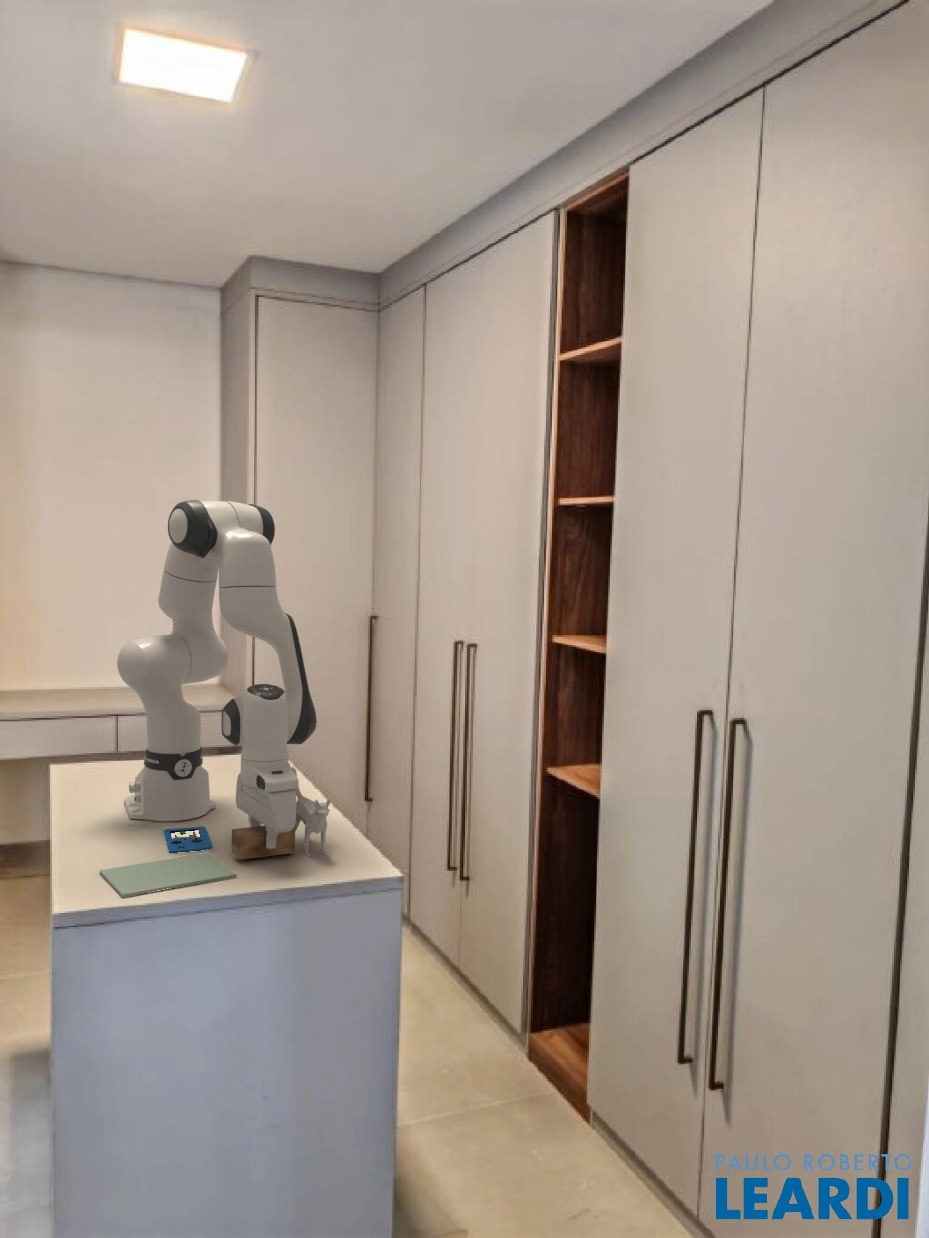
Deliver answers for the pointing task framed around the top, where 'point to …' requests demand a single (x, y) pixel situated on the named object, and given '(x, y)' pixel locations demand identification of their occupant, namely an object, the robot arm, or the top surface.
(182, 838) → the handheld gaming device
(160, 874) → the rubber mat
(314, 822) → the cat figurine
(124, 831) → the top surface
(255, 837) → the walnut block
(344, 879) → the top surface
